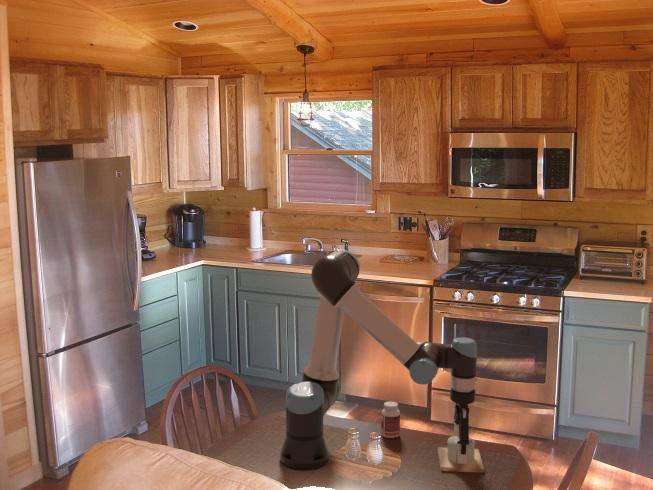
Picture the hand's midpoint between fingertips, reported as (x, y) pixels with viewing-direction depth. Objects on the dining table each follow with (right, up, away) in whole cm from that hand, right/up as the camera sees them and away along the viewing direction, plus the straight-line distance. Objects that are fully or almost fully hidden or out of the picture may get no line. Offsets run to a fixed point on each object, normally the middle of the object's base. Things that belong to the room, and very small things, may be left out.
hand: (460, 453), depth 239 cm
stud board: (0, -3, 0) cm, 3 cm away
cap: (0, -1, 0) cm, 1 cm away
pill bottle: (-20, +1, +20) cm, 28 cm away
